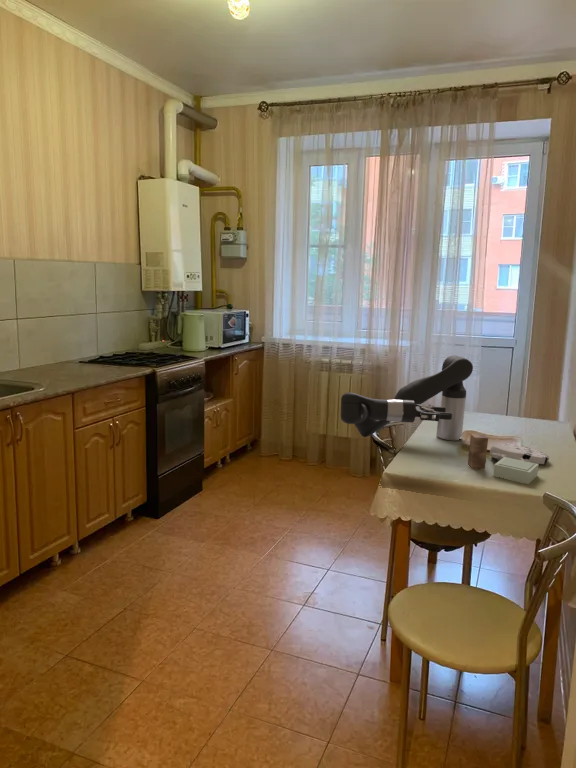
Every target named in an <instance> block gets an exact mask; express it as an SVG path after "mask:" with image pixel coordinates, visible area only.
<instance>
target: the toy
mask: <svg viewBox="0 0 576 768" xmlns="http://www.w3.org/2000/svg"><path fill="white" fill-rule="evenodd" d="M489 455H490V457H492V458H494V459H496V460H497V461H500V460H501V459H502V458H504V457H507V458H512V459H517V460H521V461H526V462H531V463H535V464H539V465H547V464H548V463H549V459H550V457H549V455H548V454H546V453H544V452H541V451H539V450H536V449H532V448H530V447H528V446H520V445H516V444H511V443H508V442H506V443H505V445H504V444H497V443H496V444H493V445H492V446H491V448H490V450H489Z"/></svg>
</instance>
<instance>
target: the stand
mask: <svg viewBox="0 0 576 768" xmlns="http://www.w3.org/2000/svg"><path fill="white" fill-rule="evenodd" d="M539 465H540V464H535V463H531V462H526V461H521V460H517V459H512V458H507V457H504V458H502V459H501V460H497V462H495V463H494V466H493V474H492V475H493V476H492V477H495V476H496V478H499V477H500V478H499V479H503V478H504V480H508V481H512V482H516V483H517V482H518V483H521V484H525V485H529V484H530V483H532V481H534V479H536V478H537V477H538V473H539V472H538V471H539Z"/></svg>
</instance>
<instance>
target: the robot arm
mask: <svg viewBox="0 0 576 768" xmlns="http://www.w3.org/2000/svg"><path fill="white" fill-rule="evenodd" d="M473 370H474V366H473V363H472V362H471V361H470V360H469V359H467V358H465V357H462V356H458V355H450V356H447V358H445V359H444V361H443V363H442V366H441V371H439V372H437V373H435V374H433V375H430V376H424V377H422V378H419V379H416V380H414V381H411V382H410V383H408V384H407V385H405V386H403V387H401V388H400V389H399V390H397V393H396V395H395V396H394V398H393V399H381V398H371V397H367V396H364V395H361V394H358V393H356V392H345V393H344V394H342V395H341V398H340V420H341V421H342V422H343V423H345V424H349V425H354V426H355V428H356V429H357V431H358V433H359V434H360V435H361V437H363V438H367V437H370V436H372V435H373V434H375V433H376V432H378V431H379V430H381V429H382V428H384V427H385V426H387V425H389V424H390V423H392V422H394V423H398V422H399V423H410V424H411V423H414V422H415V420H416V419H415V418H419V419H420V420H421V421H431V422H437V424H436V425H437V426H436V436H435V437H436V438H439V439H442V440H446V441H447V440H448V441H460V440H459V439H460V437H461V436H463V430H464V429H463V428H464V420H465V419H464V418H465V409H466V398H467V390H466V388H465V387H464V382H463V381H466V380H467V379H468V378H469V377H471V375H472V373H473ZM440 393H441V402H440V406H434V405H432V404H426V403H425V402H427V401H428V400H431V398H433V397H435V396H437V395H438V394H440ZM423 403H425V404H423Z"/></svg>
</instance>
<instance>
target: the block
mask: <svg viewBox="0 0 576 768" xmlns="http://www.w3.org/2000/svg"><path fill="white" fill-rule="evenodd" d="M469 438H470V439H469V440H470V441H469V448H468V449H469V450H468V457H467V465H469V466H470V467H469V466H468V467H469V468H470V469H471V470H484V469H485V470H486V462H487V455H488V454H487V453H488V442H489V437H488V436H486V435H485V434H479V433H471V434H470V437H469Z"/></svg>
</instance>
